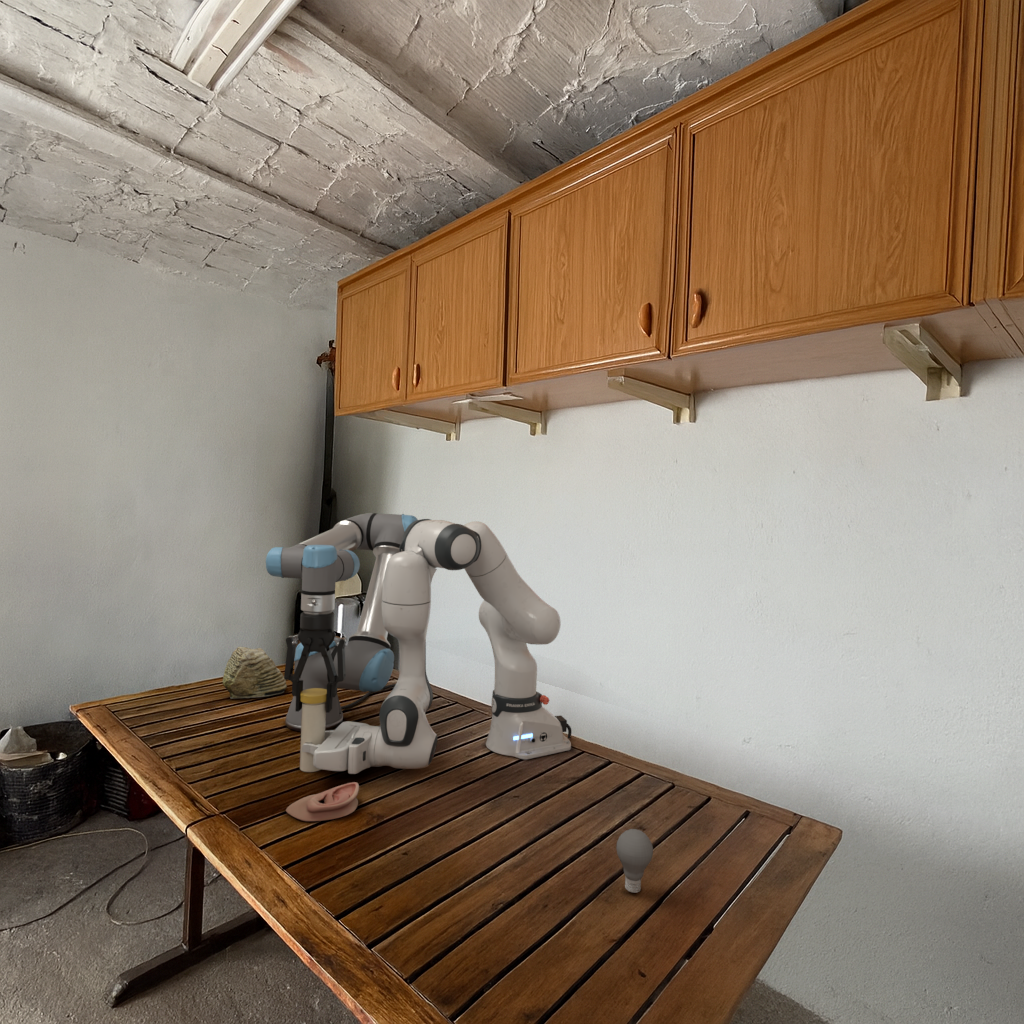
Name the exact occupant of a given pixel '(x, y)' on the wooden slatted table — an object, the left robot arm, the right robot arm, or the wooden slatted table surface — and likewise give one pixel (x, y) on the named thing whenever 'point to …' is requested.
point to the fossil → (252, 674)
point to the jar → (311, 732)
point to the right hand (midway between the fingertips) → (309, 741)
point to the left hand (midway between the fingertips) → (313, 709)
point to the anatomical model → (326, 804)
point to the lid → (313, 696)
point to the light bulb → (634, 857)
